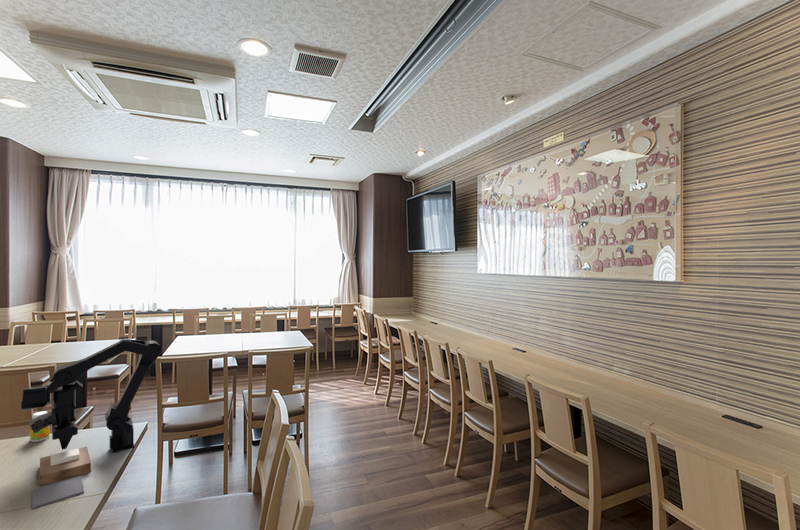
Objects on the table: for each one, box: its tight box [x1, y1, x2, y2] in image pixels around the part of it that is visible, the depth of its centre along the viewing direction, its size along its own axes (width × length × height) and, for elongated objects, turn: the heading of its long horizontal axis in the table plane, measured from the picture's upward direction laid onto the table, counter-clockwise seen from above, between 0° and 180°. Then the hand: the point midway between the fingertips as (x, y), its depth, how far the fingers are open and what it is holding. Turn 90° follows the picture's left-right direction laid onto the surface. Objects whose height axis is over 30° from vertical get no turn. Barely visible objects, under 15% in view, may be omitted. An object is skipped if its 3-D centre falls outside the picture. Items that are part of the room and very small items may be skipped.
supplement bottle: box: [29, 410, 51, 443], centre depth 144 cm, size 5×5×10 cm
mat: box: [31, 474, 85, 510], centre depth 113 cm, size 11×11×1 cm
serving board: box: [39, 446, 92, 487], centre depth 124 cm, size 12×14×3 cm
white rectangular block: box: [49, 447, 80, 466], centre depth 125 cm, size 7×5×2 cm
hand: (64, 448), depth 130 cm, fingers closed
